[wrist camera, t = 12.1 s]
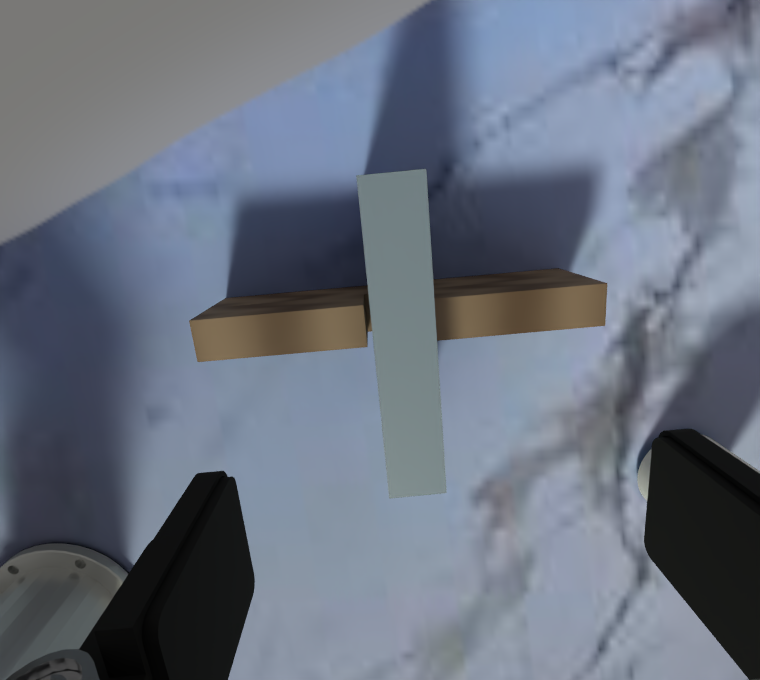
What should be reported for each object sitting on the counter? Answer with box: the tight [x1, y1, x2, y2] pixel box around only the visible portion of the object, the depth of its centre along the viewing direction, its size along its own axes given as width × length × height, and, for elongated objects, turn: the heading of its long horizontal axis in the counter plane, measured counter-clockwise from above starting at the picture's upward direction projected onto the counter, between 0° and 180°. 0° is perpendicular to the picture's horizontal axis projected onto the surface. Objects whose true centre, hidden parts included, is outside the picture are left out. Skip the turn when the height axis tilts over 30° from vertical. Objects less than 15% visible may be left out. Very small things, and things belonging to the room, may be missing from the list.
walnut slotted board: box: [189, 268, 607, 362], centre depth 30 cm, size 24×2×7 cm, turn 95°
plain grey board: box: [356, 169, 446, 498], centre depth 28 cm, size 16×3×12 cm, turn 5°
